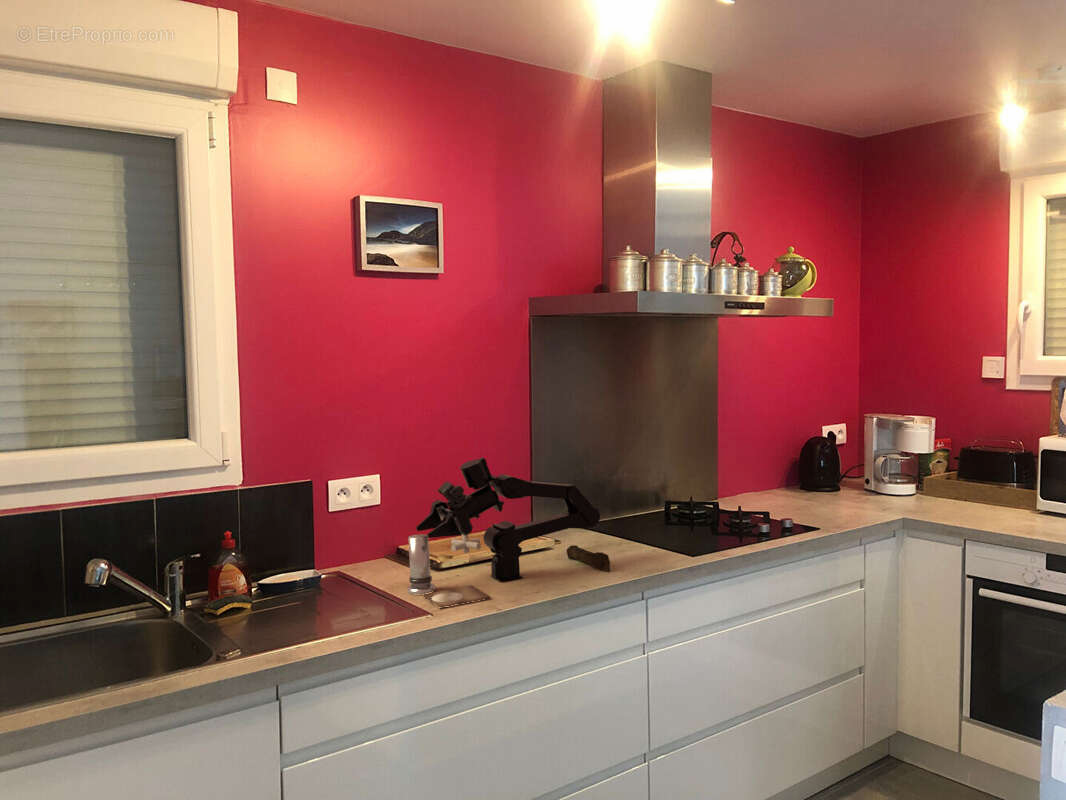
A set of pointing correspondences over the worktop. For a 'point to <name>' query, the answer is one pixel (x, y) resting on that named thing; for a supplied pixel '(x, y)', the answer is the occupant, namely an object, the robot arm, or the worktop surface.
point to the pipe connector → (465, 544)
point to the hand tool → (589, 558)
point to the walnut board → (456, 596)
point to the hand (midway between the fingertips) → (422, 532)
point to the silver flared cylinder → (419, 565)
